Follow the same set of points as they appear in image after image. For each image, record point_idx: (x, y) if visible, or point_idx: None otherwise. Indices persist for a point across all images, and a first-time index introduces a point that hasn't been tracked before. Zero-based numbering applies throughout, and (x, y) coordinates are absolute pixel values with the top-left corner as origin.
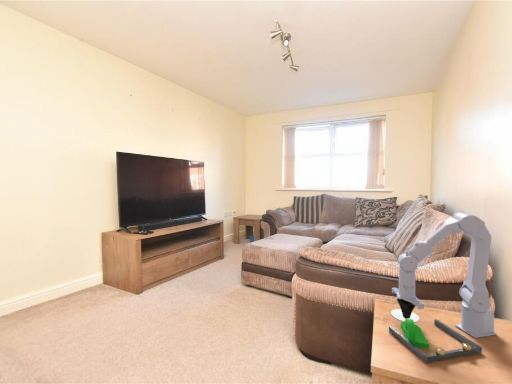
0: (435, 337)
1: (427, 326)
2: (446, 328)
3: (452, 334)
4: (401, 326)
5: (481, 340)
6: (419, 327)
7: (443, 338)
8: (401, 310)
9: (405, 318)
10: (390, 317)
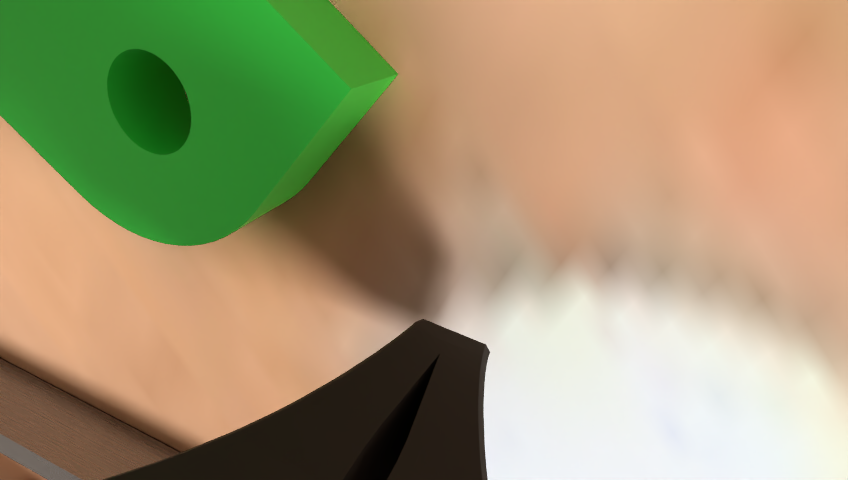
0: (58, 234)
1: (249, 401)
2: (75, 453)
3: (40, 402)
4: (353, 39)
5: (4, 477)
6: (107, 207)
7: (38, 285)
8: (474, 442)
9: (423, 322)
10: (761, 212)
